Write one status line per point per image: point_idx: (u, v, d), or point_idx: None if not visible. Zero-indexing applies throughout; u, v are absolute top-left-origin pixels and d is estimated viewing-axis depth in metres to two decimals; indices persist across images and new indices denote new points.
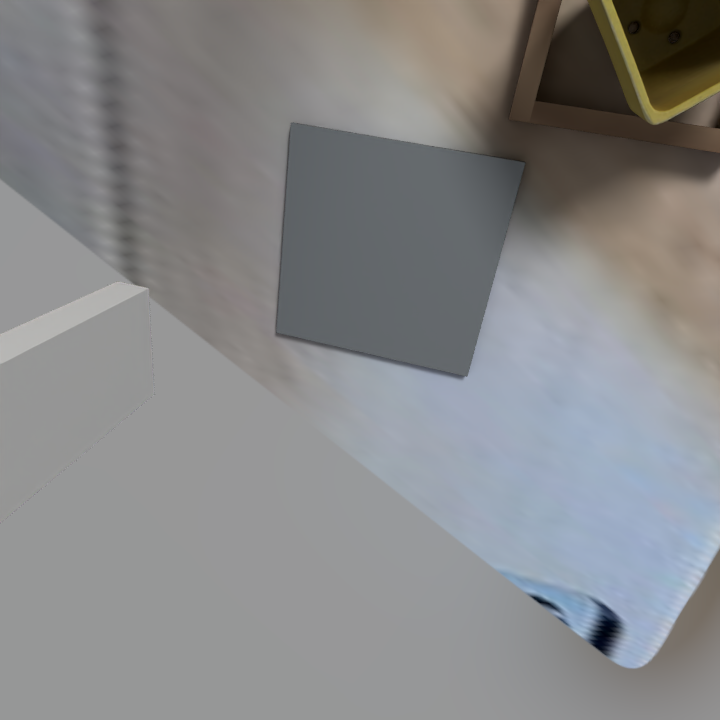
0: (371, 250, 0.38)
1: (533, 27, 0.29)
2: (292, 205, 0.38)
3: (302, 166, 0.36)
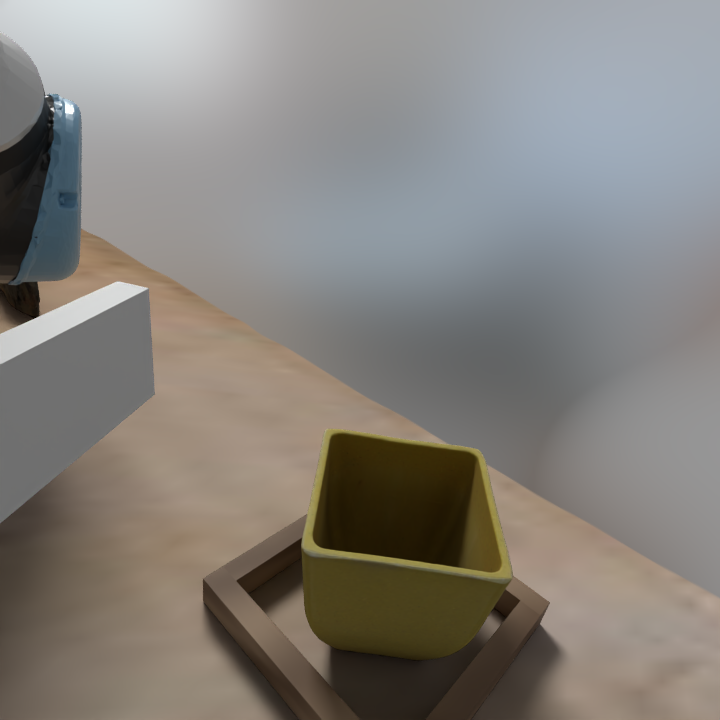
0: None
1: (314, 708, 0.22)
2: None
3: None
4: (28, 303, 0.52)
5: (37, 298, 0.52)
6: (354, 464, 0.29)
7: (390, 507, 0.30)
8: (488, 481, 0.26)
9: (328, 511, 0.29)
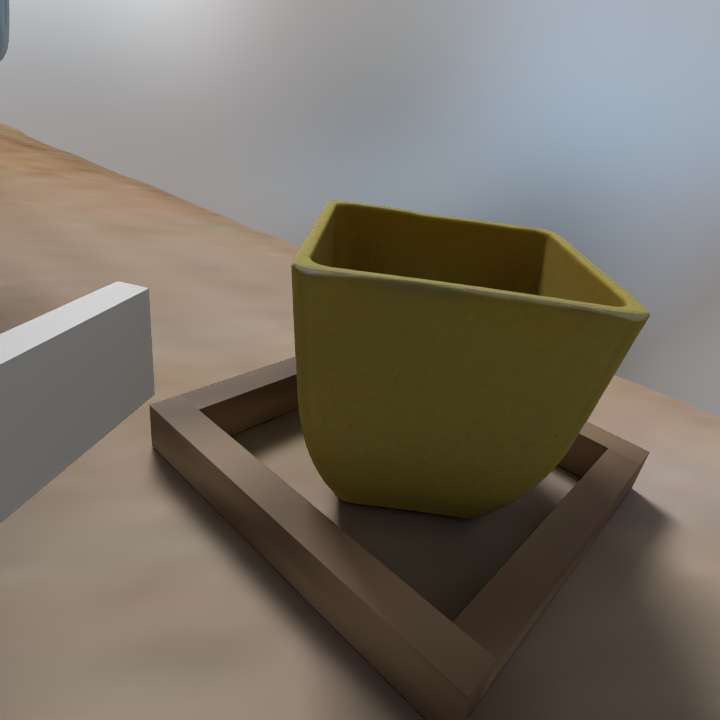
0: None
1: (315, 554, 0.13)
2: None
3: None
4: None
5: None
6: (369, 258, 0.20)
7: None
8: (573, 247, 0.17)
9: None
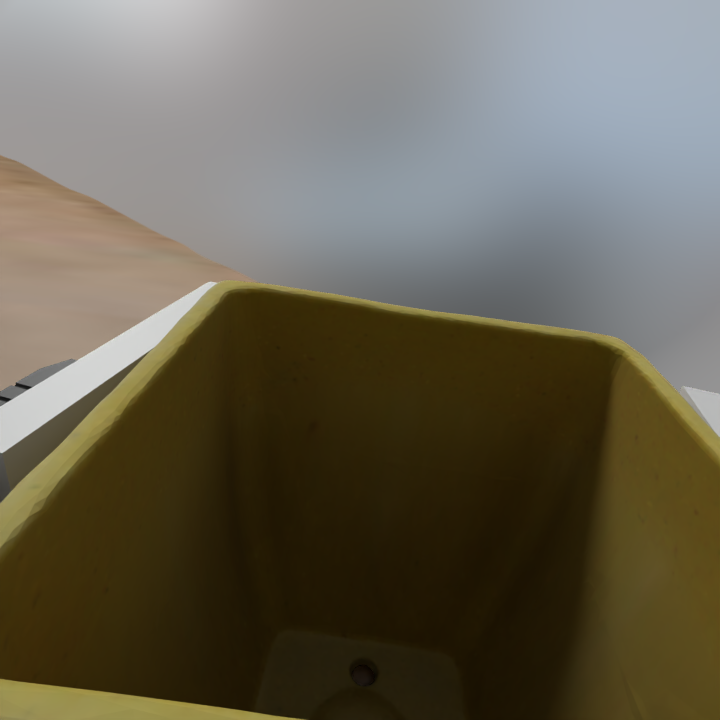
0: None
1: None
2: None
3: None
4: None
5: None
6: (297, 378, 0.11)
7: (387, 489, 0.12)
8: (685, 402, 0.08)
9: (237, 498, 0.12)
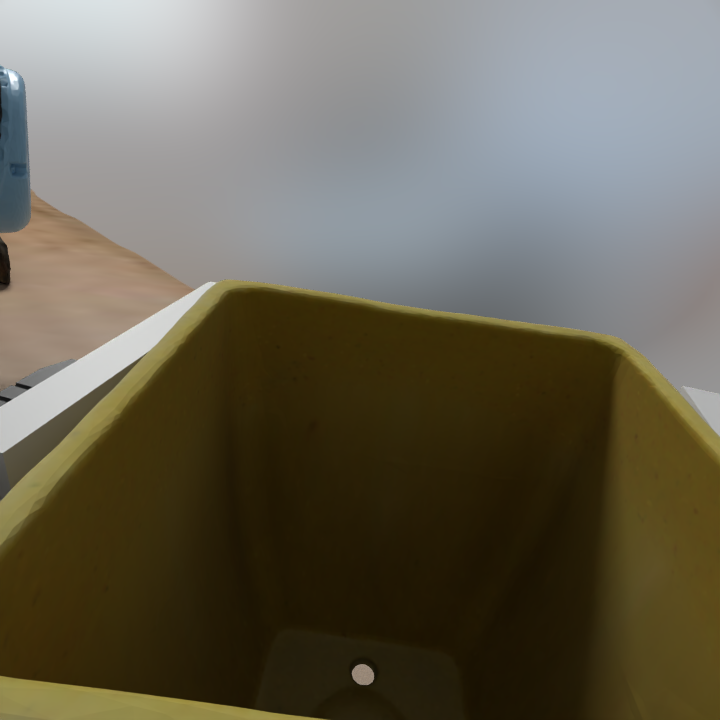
0: None
1: None
2: None
3: None
4: None
5: (8, 265, 0.56)
6: (297, 378, 0.11)
7: (387, 489, 0.12)
8: (685, 401, 0.08)
9: (236, 497, 0.12)
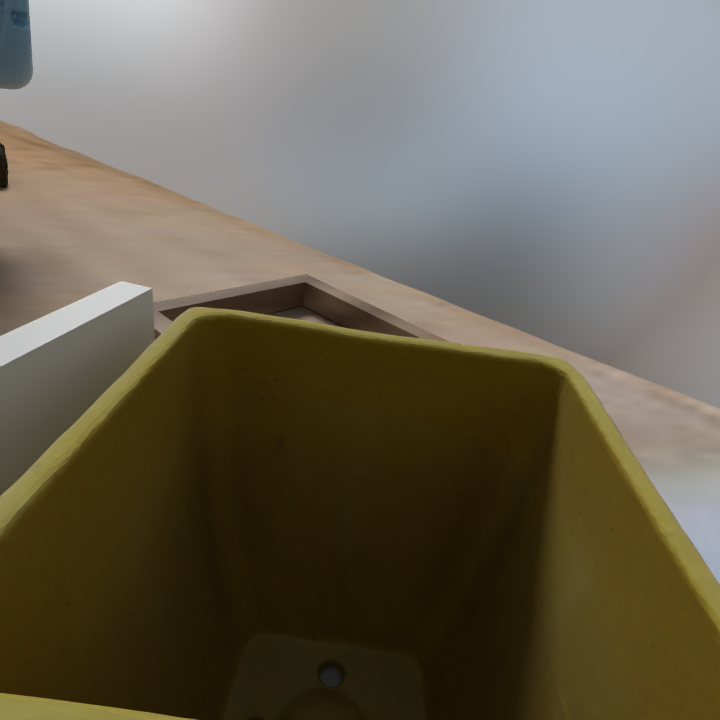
0: None
1: None
2: None
3: None
4: None
5: (5, 166, 0.54)
6: (264, 398, 0.12)
7: (352, 501, 0.13)
8: (613, 425, 0.09)
9: (210, 509, 0.13)
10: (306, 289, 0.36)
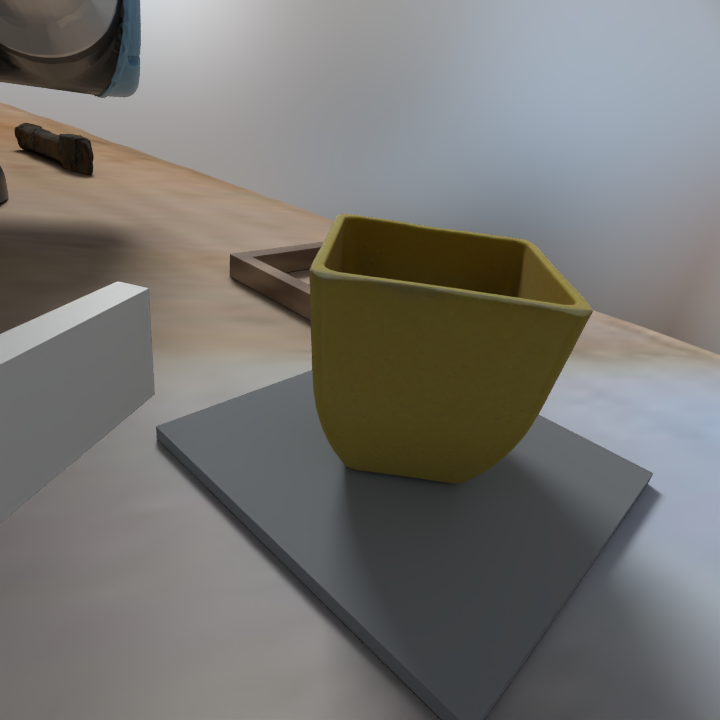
0: None
1: (303, 290, 0.35)
2: (243, 491, 0.19)
3: (213, 448, 0.21)
4: (85, 162, 0.66)
5: (92, 158, 0.66)
6: (373, 263, 0.23)
7: None
8: (544, 256, 0.20)
9: None
10: None
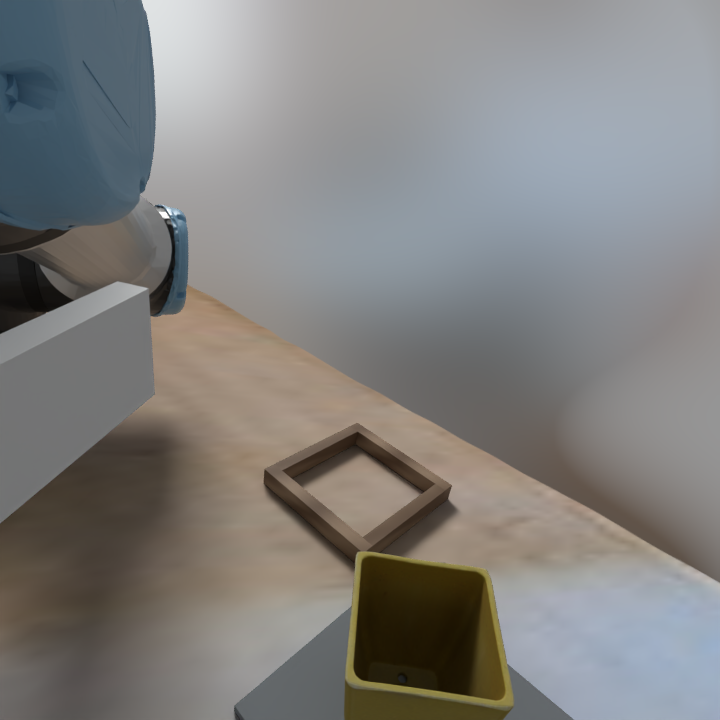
0: None
1: (324, 519, 0.46)
2: None
3: None
4: None
5: None
6: (380, 579, 0.34)
7: (410, 613, 0.35)
8: (494, 604, 0.31)
9: (358, 617, 0.35)
10: (358, 435, 0.58)
